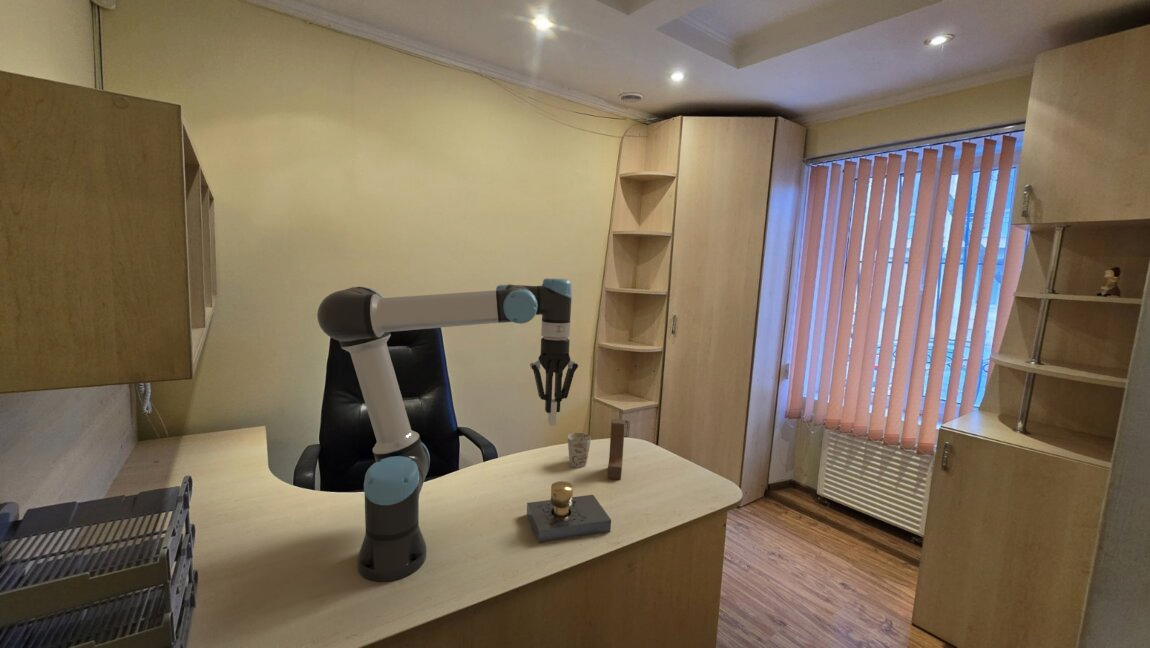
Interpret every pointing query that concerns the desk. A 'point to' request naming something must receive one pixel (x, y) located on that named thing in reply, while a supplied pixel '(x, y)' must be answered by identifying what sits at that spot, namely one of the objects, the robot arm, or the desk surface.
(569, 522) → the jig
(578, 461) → the mug
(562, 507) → the knob
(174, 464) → the desk surface
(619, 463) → the wooden block
